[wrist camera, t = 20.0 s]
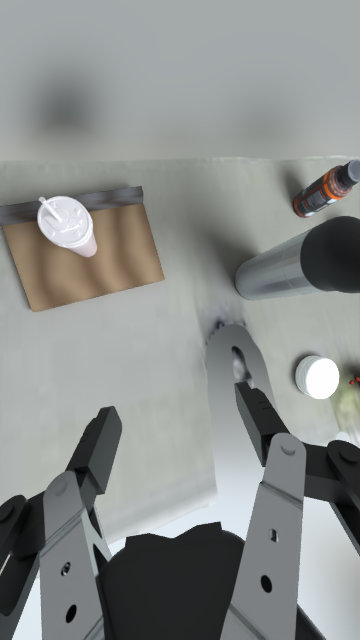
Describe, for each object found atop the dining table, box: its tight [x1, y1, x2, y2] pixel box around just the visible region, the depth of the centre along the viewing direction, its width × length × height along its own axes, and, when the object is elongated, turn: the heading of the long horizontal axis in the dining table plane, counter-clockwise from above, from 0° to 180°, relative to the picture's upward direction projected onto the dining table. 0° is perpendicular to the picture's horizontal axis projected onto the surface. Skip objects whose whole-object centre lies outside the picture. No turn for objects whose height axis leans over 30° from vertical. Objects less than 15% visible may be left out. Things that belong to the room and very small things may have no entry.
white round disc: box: [295, 356, 339, 399], centre depth 45 cm, size 10×10×4 cm
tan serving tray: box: [0, 186, 165, 312], centre depth 33 cm, size 24×16×4 cm
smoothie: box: [37, 196, 97, 257], centre depth 26 cm, size 6×6×14 cm
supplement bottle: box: [294, 160, 360, 218], centre depth 39 cm, size 6×6×11 cm
